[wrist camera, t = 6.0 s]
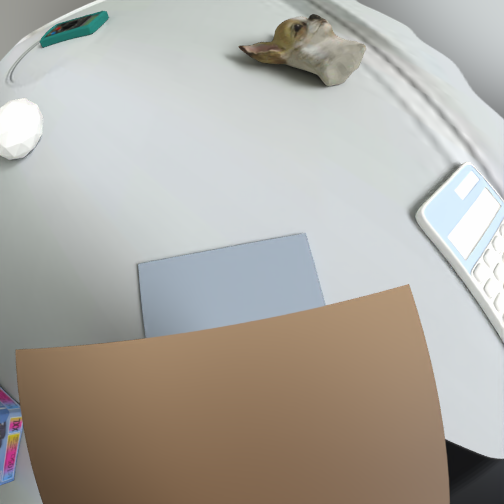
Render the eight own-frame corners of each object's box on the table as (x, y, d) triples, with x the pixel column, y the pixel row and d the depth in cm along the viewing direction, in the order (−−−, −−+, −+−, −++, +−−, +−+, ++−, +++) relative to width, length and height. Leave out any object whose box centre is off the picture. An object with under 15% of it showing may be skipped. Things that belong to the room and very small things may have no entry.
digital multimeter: (58, 32, 45) (54, 23, 42) (110, 19, 44) (107, 8, 41) (40, 50, 42) (36, 40, 39) (93, 36, 41) (89, 24, 39)
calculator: (512, 364, 21) (524, 362, 19) (408, 218, 27) (416, 209, 25) (548, 285, 24) (558, 280, 22) (461, 164, 30) (469, 156, 28)
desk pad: (355, 447, 19) (356, 447, 19) (176, 480, 18) (175, 482, 18) (305, 234, 25) (305, 233, 25) (139, 265, 24) (138, 263, 24)
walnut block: (307, 448, 13) (444, 586, 1) (212, 465, 13) (113, 631, 1) (288, 361, 15) (409, 284, 3) (194, 378, 15) (15, 349, 3)
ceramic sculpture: (346, 46, 23) (231, 11, 27) (334, 110, 31) (236, 66, 35) (385, 26, 26) (285, -7, 30) (372, 78, 34) (284, 41, 38)
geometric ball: (50, 153, 33) (51, 124, 26) (0, 178, 28) (-10, 153, 22) (36, 111, 31) (37, 78, 25) (-12, 133, 27) (-20, 102, 20)
